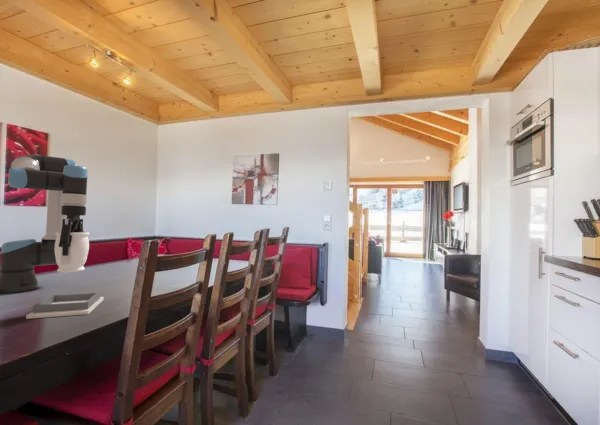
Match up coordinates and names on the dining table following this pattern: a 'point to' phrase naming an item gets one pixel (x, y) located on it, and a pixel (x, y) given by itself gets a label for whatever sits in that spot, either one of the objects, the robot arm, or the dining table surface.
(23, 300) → the dining table surface
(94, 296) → the socket board
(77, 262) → the jar
